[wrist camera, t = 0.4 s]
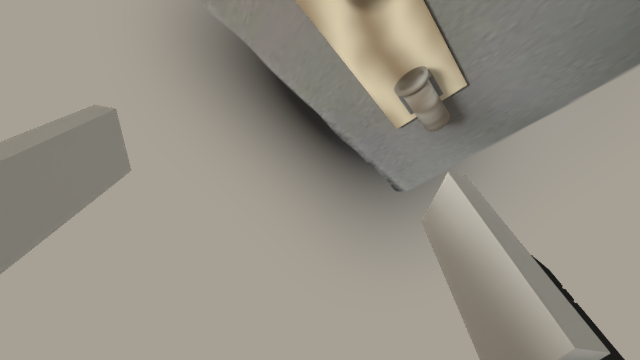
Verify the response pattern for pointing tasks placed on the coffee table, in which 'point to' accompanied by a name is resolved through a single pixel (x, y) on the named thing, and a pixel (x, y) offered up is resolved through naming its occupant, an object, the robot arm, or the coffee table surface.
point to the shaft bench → (392, 55)
